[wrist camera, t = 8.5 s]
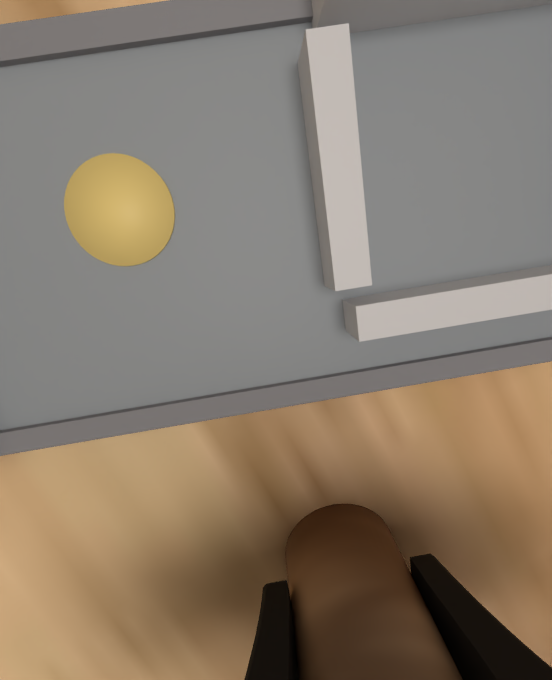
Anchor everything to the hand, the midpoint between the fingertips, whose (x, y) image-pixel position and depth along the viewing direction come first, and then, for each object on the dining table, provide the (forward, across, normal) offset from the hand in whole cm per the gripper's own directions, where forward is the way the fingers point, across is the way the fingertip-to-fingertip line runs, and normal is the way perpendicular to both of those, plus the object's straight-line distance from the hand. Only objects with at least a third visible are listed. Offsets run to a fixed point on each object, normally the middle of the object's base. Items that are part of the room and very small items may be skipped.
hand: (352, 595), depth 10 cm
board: (+2, +6, -11) cm, 12 cm away
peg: (+2, 0, 0) cm, 2 cm away
